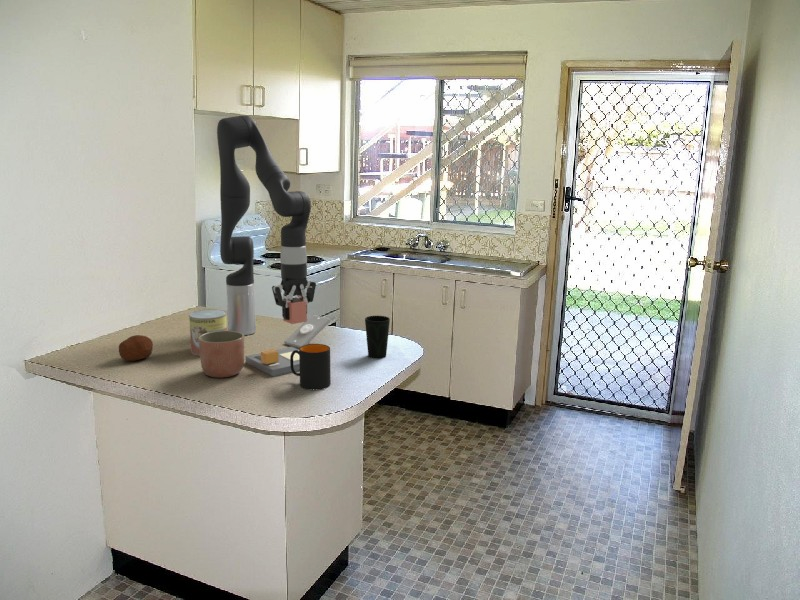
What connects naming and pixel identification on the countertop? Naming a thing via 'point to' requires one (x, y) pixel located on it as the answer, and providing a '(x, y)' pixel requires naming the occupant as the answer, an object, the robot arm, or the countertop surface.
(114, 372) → the countertop surface
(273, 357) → the orange rectangular prism
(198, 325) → the canned food
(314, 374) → the mug
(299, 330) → the light switch
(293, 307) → the pink square block
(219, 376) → the pink terracotta mug
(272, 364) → the panel
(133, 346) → the potato
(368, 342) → the cup
